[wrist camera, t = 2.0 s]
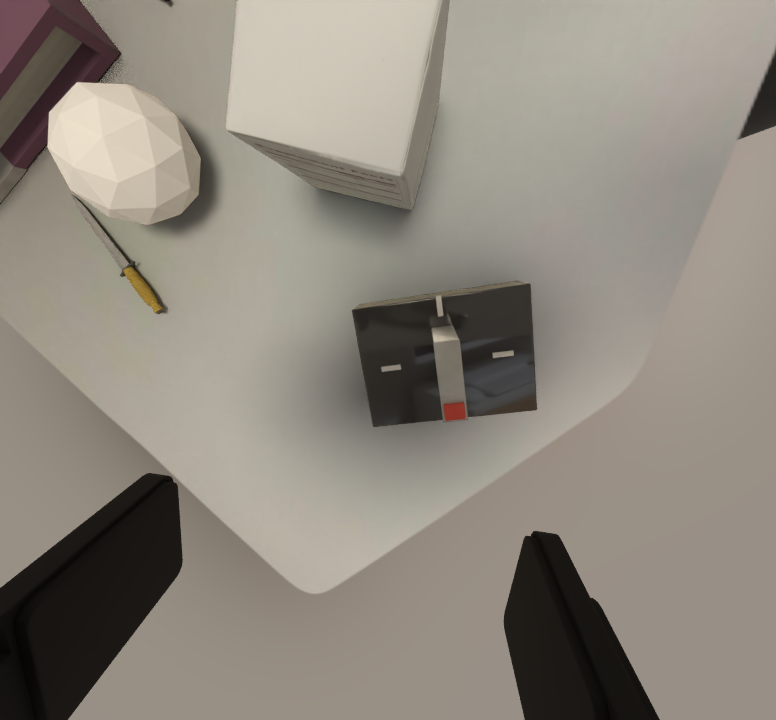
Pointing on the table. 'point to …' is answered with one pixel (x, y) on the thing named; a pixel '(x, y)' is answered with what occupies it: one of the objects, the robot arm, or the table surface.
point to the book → (42, 73)
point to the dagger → (122, 262)
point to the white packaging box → (340, 90)
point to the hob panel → (478, 350)
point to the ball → (124, 152)
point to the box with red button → (449, 373)
